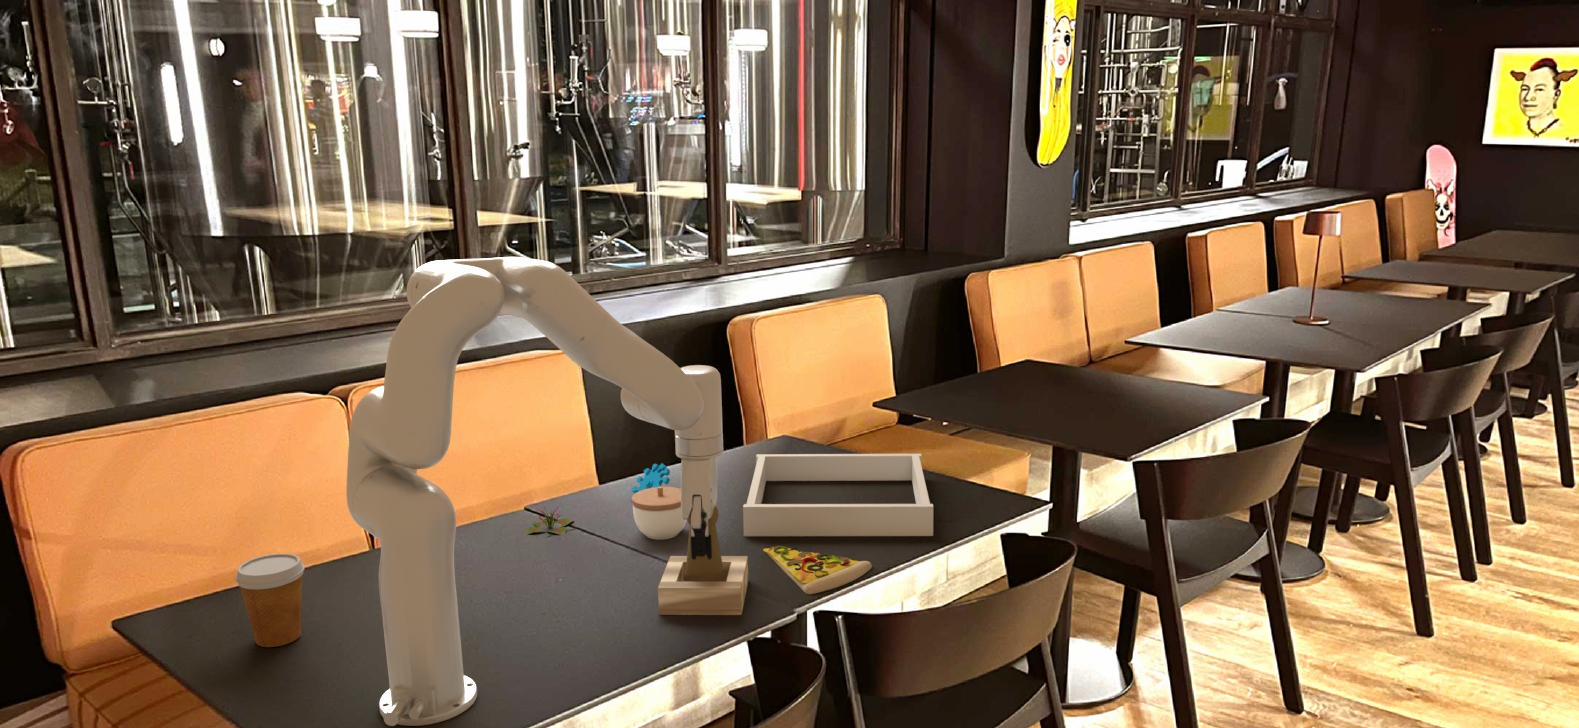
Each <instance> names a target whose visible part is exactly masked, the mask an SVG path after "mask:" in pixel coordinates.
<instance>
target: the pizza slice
mask: <svg viewBox="0 0 1579 728" xmlns="http://www.w3.org/2000/svg"><path fill="white" fill-rule="evenodd" d="M762 552H764V553H765V554H766V555H768V556H769V557H770V558H771V559H772V560H773V562H775V563H776V565H778V567H779V568H780V569H781V570H782V571H783V572H784V573H785V574H786V575H787V576H788V577H789V578H790V579H791V580H792V581H793V582H794V583H795V584H796V585H797V586H798V587H799V588H800V589H801V590H802V591H803V592H804V593H805V594H806V595H813V594H817V593H822V592H825V591H826V592H827V591H830V590H832V589H836V588H838V587H839V588H840V587H841V586H845V585H847V584H848V583H851V582H853V581H855V580H857V579H859V578H860V577H862V576H863V575H865V574H866V573H868V572H869V571H870V570H871V569H872V567H873V565H872V563H871V562H870V561H868V560H861V561H859V560H853V559H851V558H849V557H847V556H846V557H843V556H840V555H838V556H835V555H832V554H830V553H820V552H810V551H801V549H800V548H798V547H792V548H790V547H786V546H783V545H776V546H771V547H770V548H763V551H762Z"/></svg>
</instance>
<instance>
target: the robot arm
mask: <svg viewBox="0 0 1579 728" xmlns="http://www.w3.org/2000/svg"><path fill="white" fill-rule="evenodd" d="M406 298H407V301H408V304H409V306H410V309H409V310H408V312H406V314H405V315H404V316H403V318H402V319H401V320H400V322H399V324H398V325H397V327H396V328H395V330H394V332H393V334H392V337H391V339H390V342H389V345H388V350H387V356H386V366H385V372H384V373H385V374H384V382H383V385H381V386H379V387H376V388H374V389H372V390H370V391H369V392H367V393H366V394H365V395H364V396H363V397H362V398H361V399H360V400H359V402H358V403H357V405H356V407H355V408H354V411H353V413H352V416H351V420H350V425H349V436H348V452H347V466H346V467H347V468H346V469H347V470H346V503H347V508H348V512H349V514H350V516H351V518H352V520H353V521H354V522H355V523H356V524H357V525H358V526H359V527H360V528H362V529H363V530H365V531H366V532H367V533H369V535H372V536H373V537H374V538H376V540H378V542H379V545H380V560H379V565H378V566H379V567H378V588H379V589H378V590H379V592H378V593H379V599H380V606H381V607H380V608H381V609H380V610H381V617H382V626H383V637H384V645H385V647H384V648H385V654H386V664H387V674H388V684H389V689H388V690H386V691H385V692H384V693H383V694H382V696H381V697H380V699H379V701H378V708H379V713H380V715H381V717H382V718H383V722H384V723H385V724H386V725H387V726H390V727H394V726H396V725H400V726H405V727H406V726H407V727H412V726H413V727H418V726H420V727H421V726H428V725H433V724H438V723H441V722H444V721H448V720H450V719H453V718H455V717H457V716H459V715H461V714H463V712H465V711H467V710H468V709H469V708H471V706H472V705H474V703H475V701H476V699H477V697H478V686H477V684H476V682H475V681H474V680H473V679H472V678H470V677H468V676H467V675H465V674H464V666H463V664H464V663H463V655H462V653H463V651H462V641H461V629H460V628H461V627H460V619H459V607H458V596H457V595H458V594H457V586H456V584H457V583H456V577H455V576H456V573H455V543H456V542H455V541H456V531H457V530H456V529H457V516H456V511H455V508H454V507H455V506H454V505H453V502H452V501H451V499H450V497H449V496H448V494H446V492H445V491H444V490H443V489H442V488H441V487H439V486H438V485H436V484H435V483H434V482H433V481H430V480H429V479H426V478H425V477H423V476H421V475H418V471H417V470H425V469H429V468H432V467H433V466H436V465H437V464H438V463H440V462H441V461H442V460H443V459H444V457H446V454H447V452H448V450H449V448H450V444H451V443H450V442H451V438H452V437H451V436H452V435H451V434H452V419H453V418H452V417H453V404H454V401H453V400H454V386H455V376H456V369H457V365H458V360H459V357H460V356H461V354H462V351H463V349H464V348H465V347H466V345H467V344H468V343H469V342H470V340H472V339H473V338H474V337H475V336H476V335H477V334H479V332H481V331H483V330H484V329H486V328H487V327H489V326H490V325H491V324H492V323H494V321H496V319H497V318H498V317H501V316H513V317H517V318H521V319H524V320H526V321H527V322H528V323H530V325H532V327H534V328H535V329H537V330H538V331H539V332H540V333H541V334H542V335H543V336H544V337H546V338H547V339H548V340H549V341H550V342H551V343H553V344H554V346H556V347H557V348H558V349H559V350H560V351H561V352H562V353H564V354H565V355H566V356H567V357H568V359H570V361H572V362H573V363H575V364H576V365H577V366H579V367H580V368H582V369H584V370H585V371H587V372H588V373H590V374H592V375H594V376H596V377H599V378H601V379H603V380H606V381H608V382H610V383H613V385H616V386H618V387H620V388H621V390H620V401H621V405H622V407H623V408H624V410H625V412H627V414H629V415H631V416H632V417H633V418H636V419H638V420H640V421H644V422H647V423H650V424H654V425H656V426H661V427H663V428H666V429H668V430H669V429H670V430H672V431H674V442H675V455H676V457H677V458H680V459H681V460H680V461H681V465H680V489H681V518H682V519H683V520H685V519H686V518H688V517H689V514H690V511H691V555H692V559H693V560H695V559H696V557H697V556H699V557H703V556H705V554H706V555H707V557H708V559H709V560H710V559H711V558H712V544H711V535H709V519H710V518H711V517H712V515H713V512H714V508H715V506H716V507H717V502H718V459H717V458H718V457H720V456H722V455H723V454H724V438H723V437H724V434H723V406H722V404H723V403H722V402H723V401H722V379H721V373H720V372H719V371H718V369H717V368H715V367H714V366H711V365H702V364H694V365H686V366H682V367H679V366H678V365H677V364H676V363H675V362H674V361H673V360H672V359H671V358H670V357H668V356H667V355H665V354H664V353H663V352H662V351H660V350H658V349H657V348H656V347H655V346H654V345H652V344H650V343H649V342H647V341H646V340H644V339H643V338H642V337H640V335H637V334H636V333H635V332H634V331H633V330H631V329H629V328H628V327H626V326H625V325H623V324H622V323H620V322H619V321H618V320H617V319H616V318H614V316H612V314H610V312H608V311H607V310H606V308H604V307H603V306H602V305H601V304H600V303H599V302H598V301H597V300H596V299H595V298H594V297H593V296H592V295H591V294H589V292H588V291H586V290H585V289H584V287H582V286H581V284H579V283H578V282H577V281H576V280H575V278H573V277H572V276H571V275H570V274H569V273H568V272H567V271H566V270H564V269H563V268H562V267H560V266H559V265H557V264H555V263H554V262H551V261H547V260H542V259H537V258H531V257H525V256H524V257H522V256H503V257H490V258H489V257H488V258H466V259H465V258H463V259H445V260H443V259H442V260H441V259H440V260H433V261H429V262H426V263H424V264H422V265H420V266H418V268H416V270H414V272H413V273H412V274H411V276H410V277H409V279H408V281H407V285H406ZM702 514H706V516H705V517H702ZM702 521H705V526H704V524H702Z"/></svg>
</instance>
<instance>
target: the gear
mask: <svg viewBox="0 0 1579 728" xmlns="http://www.w3.org/2000/svg"><path fill="white" fill-rule="evenodd" d="M643 473H644V478H643V477H642V476H638V477H637V478H636V482H637V483H638V484H639V486H636V485H633V487H632V489H631V493H633V495H634V494H635V493H637V492H639V491H641V490H644V489H648V488H654V487H663V486H662V484H663V483H664V484H665V485H669V483H670V481H671V478H670V477H668V476H669V475H670V474H671V470H670V469H669V468H668V467H667V465H665V464H664V463H660V464H657V463H653V464H652V466H651V469H650V468H649V467H648V468H644V469H643ZM633 495H631V497H630V498H631V499H630V500H631V501H632V496H633Z"/></svg>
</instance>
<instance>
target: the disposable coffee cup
mask: <svg viewBox="0 0 1579 728" xmlns="http://www.w3.org/2000/svg"><path fill="white" fill-rule="evenodd" d="M305 567H306V566H305V564H304V563H303V562H302V560H301V557H300V556H299V555H298V554H297V555H296V554H294V553H293V554H292V553H270V554H264V555H260V556H258V557H257V556H256V557H254V558H251V559H249V560H246V561H245V562H243V563H242V564H239V566H238V567H237V573H236V575H235V577H234V580H235V582H236V583H237V586H239V587H240V591H241V594H242V599H243V601H244V606H245V609H246V612H247V616H248V619H249V622H250V626H251V630H252V633H253V637H254V641H255V643H256V645H257V646H260V647H262V648H273V647H280V646H281V647H282V646H284V645H288V644H290V643H293V642H294V641H296V640H297V639H299V638H300V637H301V635H302V599H303V598H302V596H303V593H302V592H303V589H302V588H303V575H304V571H305V570H306V569H305Z"/></svg>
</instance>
